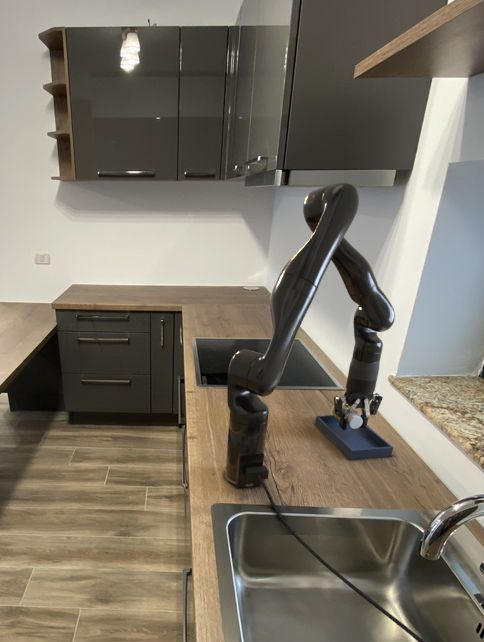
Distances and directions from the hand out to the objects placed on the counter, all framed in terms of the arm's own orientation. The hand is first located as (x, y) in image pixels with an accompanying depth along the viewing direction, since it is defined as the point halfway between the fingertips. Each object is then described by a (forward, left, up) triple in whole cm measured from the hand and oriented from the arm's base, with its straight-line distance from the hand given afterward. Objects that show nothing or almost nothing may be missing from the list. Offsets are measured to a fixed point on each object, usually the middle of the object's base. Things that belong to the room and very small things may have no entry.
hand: (352, 427), depth 130 cm
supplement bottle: (+8, 0, +2) cm, 9 cm away
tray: (0, 0, -4) cm, 4 cm away
